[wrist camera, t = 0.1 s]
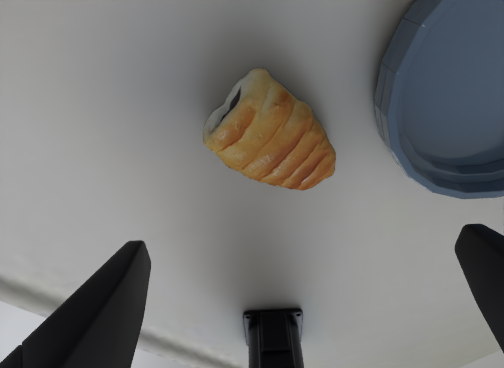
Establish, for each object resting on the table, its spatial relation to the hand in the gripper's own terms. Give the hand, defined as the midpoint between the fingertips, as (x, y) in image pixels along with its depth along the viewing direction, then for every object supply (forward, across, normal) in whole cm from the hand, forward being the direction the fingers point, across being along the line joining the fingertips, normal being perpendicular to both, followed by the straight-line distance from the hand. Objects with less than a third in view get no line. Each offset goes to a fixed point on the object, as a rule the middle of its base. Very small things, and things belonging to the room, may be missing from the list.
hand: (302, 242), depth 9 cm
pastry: (+15, 0, +3) cm, 15 cm away
